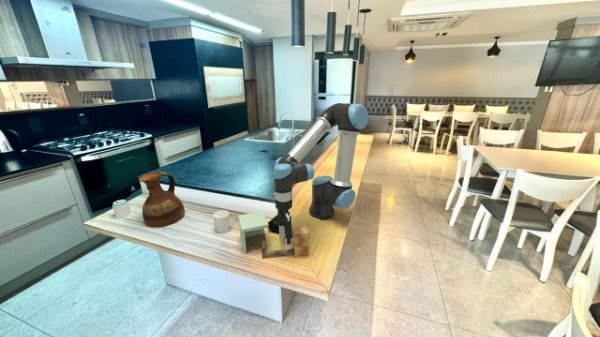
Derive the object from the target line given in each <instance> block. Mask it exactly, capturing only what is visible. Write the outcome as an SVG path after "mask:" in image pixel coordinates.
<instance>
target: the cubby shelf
mask: <svg viewBox="0 0 600 337" xmlns="http://www.w3.org/2000/svg"><path fill="white" fill-rule="evenodd" d="M268 222H269V221H267V218H266V215H265V214H264V211H262V210H261V211H258V212H251V213H246V214H241V215H240V214H239V215H238V224H239V225H238V226H239V233H240V240H241V247H242V252H243V254H247V245H246V239H247V238H251V237H255V236H256V235H257V236H261V235H260V234H262V235H266V233H265V229H268V227H269V226H268Z"/></svg>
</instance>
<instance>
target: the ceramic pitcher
mask: <svg viewBox="0 0 600 337" xmlns="http://www.w3.org/2000/svg"><path fill="white" fill-rule="evenodd" d="M165 176H166V177H167V178H168V180H169V181H168V182H169V184H168V185H169V186H168V189H167V190H164V189H163V187H162V186H161V183H160V182H161V181H160V180H161V178H162V177H165ZM138 181H139V182H141V183H144V184H145V185H146V186H145V187H146V190H148V196H147V197H146V199H145V201H144V203H143V205H142V209H141V211H142V218H143V220H144V223H145V224H146V225H147V226H148V227H151V228H163V227H167V226H168V227H169V226H171V225H174V224H175V223H177V222H179V221H180V220H181V219H182V218H183V217H184V215H185V212H186V210H185V205H184V203H183V201H182V200H181V199H180V198H179V197H178V196H177V195H176V194H175V189H176V188H175V187H176V180H175V178H174V176H173V175H172V174H170V173H169V172H165V171H152V172H149V173H145V174H142V175H141V176H139V177H138Z"/></svg>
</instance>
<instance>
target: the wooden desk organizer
mask: <svg viewBox="0 0 600 337" xmlns="http://www.w3.org/2000/svg"><path fill="white" fill-rule="evenodd" d="M308 230H309V229H308V227H307V226H299V227H292V233H293V238H292V239H293V248H291V249H290V250H285V249H276V250H267V244H266V243H267V242H266V234H262V235H261V253H262V259H270V258H281V257H288V256H289V257H290V256H294V258H303V257H309V245H310V244H309V239H310V238H309V235H310V234H309V231H308Z"/></svg>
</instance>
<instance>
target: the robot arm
mask: <svg viewBox="0 0 600 337" xmlns="http://www.w3.org/2000/svg"><path fill="white" fill-rule="evenodd" d="M368 122H369V112H368V110H367V107H366V106H364V105H363V104H359V103H347V102H346V103H343V102H342V103H341V102H337V103H333V104H332V105H330V106H328V107H327V108H326V109H325V110H323V111H322V112H321V113H320V114H319V115H318V116H317V117H316V121H315V123H314V124H313V125H312V126H311V127H310V128H309V129H308V131H307V132H306V133H305V134H304V135H303V136H302V137H301V138H300V139H299V140H298V142H296V144H295V145H294V146H293V147H292V148H291V149H290V151H288V153H286V155H285V156H284V157H278V158H277V159H276V160H275V162H274V168H273V182H274V183H273V184H274V192H273V196H274V199H275V200H274V203H275V206H274V207H275V209H276V210H277V215H278V221H277V222H279V225H280V226H279V234H278V235H279V236H278V237H279V238H278V239H284V248H285V250H290V249H292V239H293V223H292V218H293V217H292V216H291V215H290V211H289V210H290V209H292V208H293V185H296V184H299V183H304V182H308V181H310V180H312V181H311V182H312V184H311V202H310V206H309V208H308V213H309V215H310V216H311V217H312V218H314V219H318V220H327V219H331V218H333V216H334V215H335V208H334V207H336V208H338V209H340V210H346V209H348V208H349V207H350V206H352V205H353V203H354V201H355V200H356V192H355V190H354V189H353V183H352V182H351V176H352V170H353V164H354V157H355V151H356V146H357V138H358V135H360V134H361V133H362V130H363V129H365V127H366V126H367V125H368ZM335 127H337V131H338V133H339V140H338V145H337V146H338V147H337V154H336V161H335V168H334V174H333V175H334V176H333V177H332V176H330V175H318V176H315V168H314V167H313V165H312V164H310V163H303V164H300V163H301V161H303V160H304V158H306V156H307V154H308V153H309V152H310V151H311V150H312V149H313V148H314V147H315V146H316V144H317V143H318V142H319V141H320V140H321V139H322V138H323V136H324V135H325V134H326V133H327V132H328V131H331V130H332V129H333V128H335Z"/></svg>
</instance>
